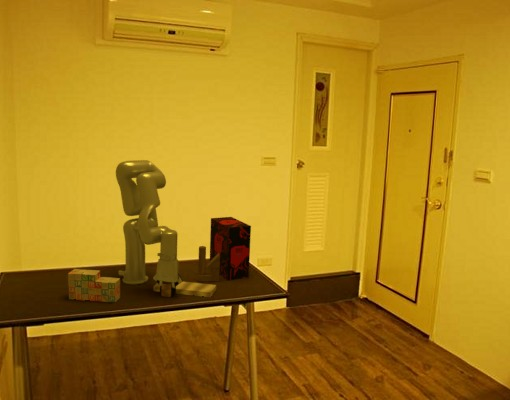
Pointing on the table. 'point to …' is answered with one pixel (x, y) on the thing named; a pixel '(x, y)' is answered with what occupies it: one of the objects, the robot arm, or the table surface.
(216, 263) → the brown angled bracket
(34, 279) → the table surface
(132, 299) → the table surface
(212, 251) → the box
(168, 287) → the gauge
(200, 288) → the board
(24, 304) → the table surface
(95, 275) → the stack of blocks
